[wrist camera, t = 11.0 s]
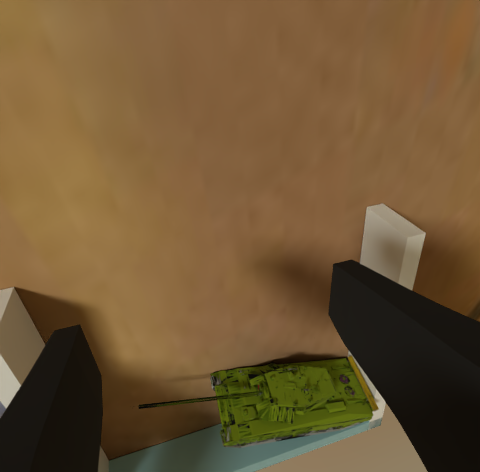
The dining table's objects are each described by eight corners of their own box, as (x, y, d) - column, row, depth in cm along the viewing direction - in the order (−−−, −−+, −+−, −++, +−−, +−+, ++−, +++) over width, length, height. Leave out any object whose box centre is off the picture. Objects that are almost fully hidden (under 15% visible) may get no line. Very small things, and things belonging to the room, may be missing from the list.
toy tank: (361, 449, 29) (432, 392, 23) (120, 497, 23) (129, 436, 17) (327, 369, 34) (377, 304, 28) (121, 390, 28) (128, 313, 22)
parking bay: (97, 473, 29) (95, 530, 26) (-11, 292, 19) (-38, 349, 16) (355, 386, 34) (380, 425, 31) (382, 203, 24) (425, 233, 20)
